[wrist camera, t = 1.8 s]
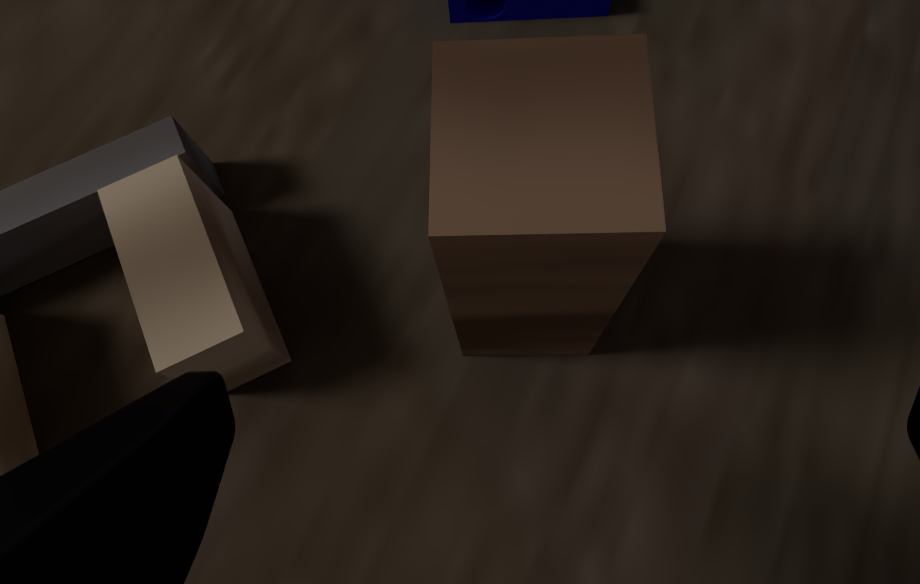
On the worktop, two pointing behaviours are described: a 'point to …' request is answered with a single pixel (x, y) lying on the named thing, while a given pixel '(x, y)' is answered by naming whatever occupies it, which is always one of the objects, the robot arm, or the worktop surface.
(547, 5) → the cable clip
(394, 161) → the worktop surface
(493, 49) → the plain brown block
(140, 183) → the stepped pillar cluster
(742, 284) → the worktop surface
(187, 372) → the robot arm
